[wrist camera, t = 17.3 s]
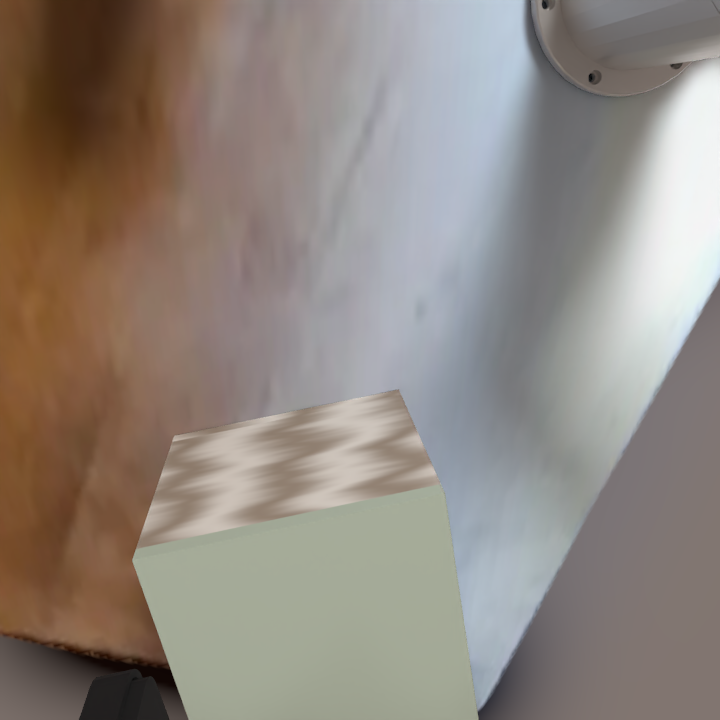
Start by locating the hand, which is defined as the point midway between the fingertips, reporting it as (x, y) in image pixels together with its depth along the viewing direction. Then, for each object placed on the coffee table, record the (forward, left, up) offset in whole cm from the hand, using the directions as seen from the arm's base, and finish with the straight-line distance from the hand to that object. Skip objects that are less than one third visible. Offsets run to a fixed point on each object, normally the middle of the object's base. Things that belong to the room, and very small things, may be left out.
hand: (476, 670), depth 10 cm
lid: (+5, +21, -24) cm, 32 cm away
